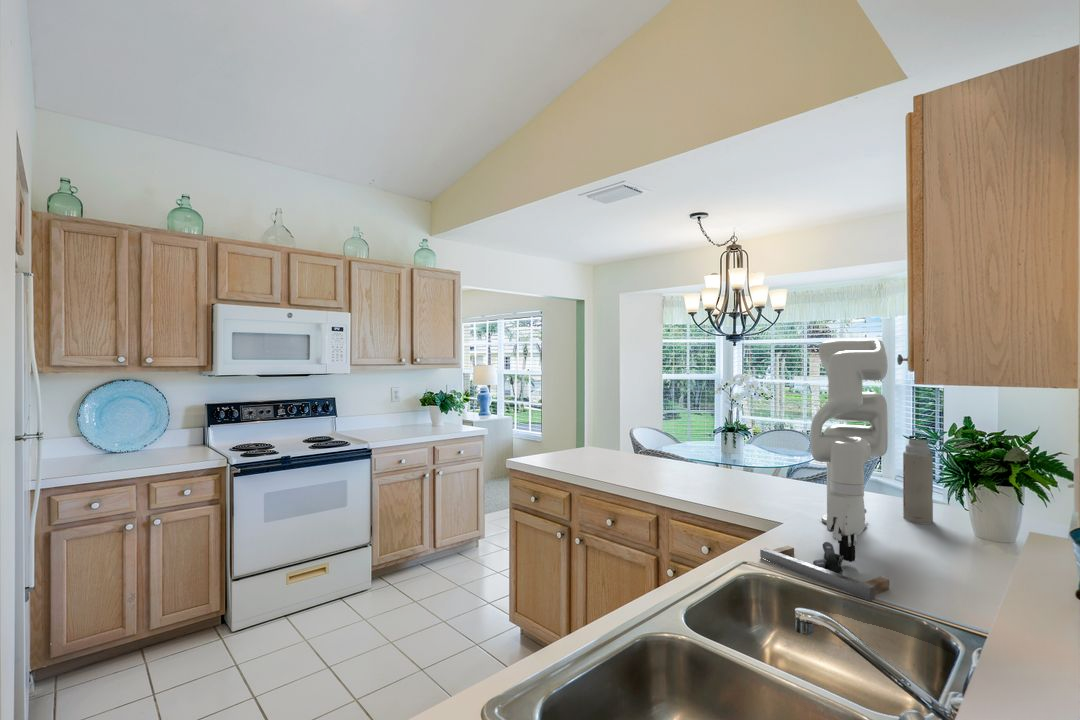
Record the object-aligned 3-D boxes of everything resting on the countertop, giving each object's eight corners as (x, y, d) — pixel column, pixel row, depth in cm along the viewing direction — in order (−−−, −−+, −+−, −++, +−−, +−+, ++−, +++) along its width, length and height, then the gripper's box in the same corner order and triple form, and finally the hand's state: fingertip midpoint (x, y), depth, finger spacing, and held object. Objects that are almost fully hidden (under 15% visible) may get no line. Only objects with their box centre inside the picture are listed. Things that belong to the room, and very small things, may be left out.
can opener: (844, 580, 129) (844, 557, 129) (812, 575, 132) (812, 552, 132) (843, 556, 144) (843, 536, 144) (814, 552, 148) (814, 532, 148)
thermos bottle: (899, 520, 176) (899, 435, 176) (907, 515, 181) (907, 433, 181) (928, 525, 170) (928, 438, 170) (936, 521, 175) (935, 436, 175)
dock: (784, 553, 146) (784, 542, 146) (893, 591, 122) (893, 578, 122) (760, 560, 141) (760, 549, 141) (869, 601, 117) (869, 588, 117)
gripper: (848, 482, 144) (848, 549, 144) (815, 489, 136) (816, 560, 136) (877, 488, 138) (878, 558, 138) (845, 495, 130) (845, 570, 130)
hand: (847, 559), depth 137 cm, fingers closed
